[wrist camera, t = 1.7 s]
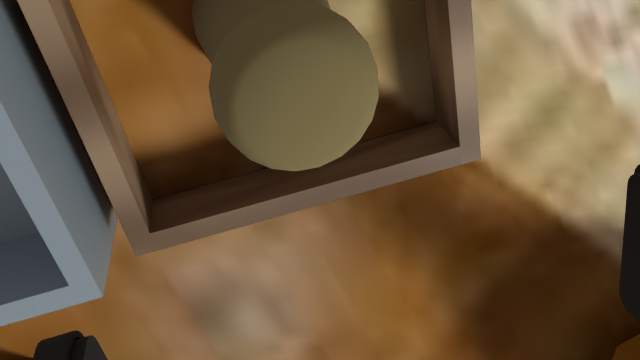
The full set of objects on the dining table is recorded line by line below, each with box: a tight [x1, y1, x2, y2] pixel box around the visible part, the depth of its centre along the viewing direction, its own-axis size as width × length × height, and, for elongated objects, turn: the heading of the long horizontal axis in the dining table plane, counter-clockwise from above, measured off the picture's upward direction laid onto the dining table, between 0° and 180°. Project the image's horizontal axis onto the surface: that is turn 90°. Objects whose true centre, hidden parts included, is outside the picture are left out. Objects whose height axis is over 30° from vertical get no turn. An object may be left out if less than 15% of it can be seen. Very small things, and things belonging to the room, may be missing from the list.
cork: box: [191, 0, 379, 171], centre depth 21 cm, size 6×6×11 cm
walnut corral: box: [17, 0, 481, 256], centre depth 25 cm, size 17×17×3 cm
